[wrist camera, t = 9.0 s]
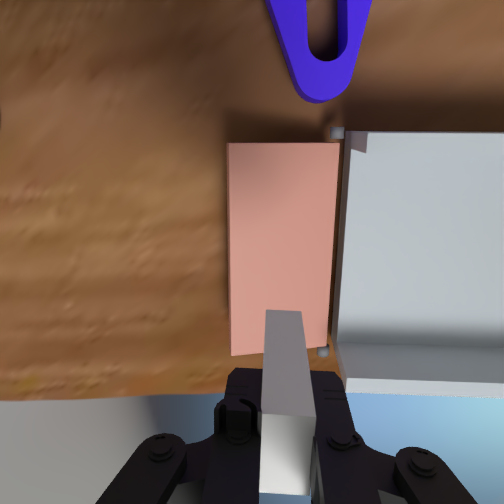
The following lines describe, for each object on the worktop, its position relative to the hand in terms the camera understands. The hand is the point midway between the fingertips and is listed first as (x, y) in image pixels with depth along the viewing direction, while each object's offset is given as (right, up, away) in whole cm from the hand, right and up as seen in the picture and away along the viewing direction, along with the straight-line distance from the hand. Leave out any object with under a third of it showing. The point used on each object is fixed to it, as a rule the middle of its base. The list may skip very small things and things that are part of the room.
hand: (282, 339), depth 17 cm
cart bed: (+17, +4, +16) cm, 24 cm away
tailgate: (+1, +4, +15) cm, 15 cm away
